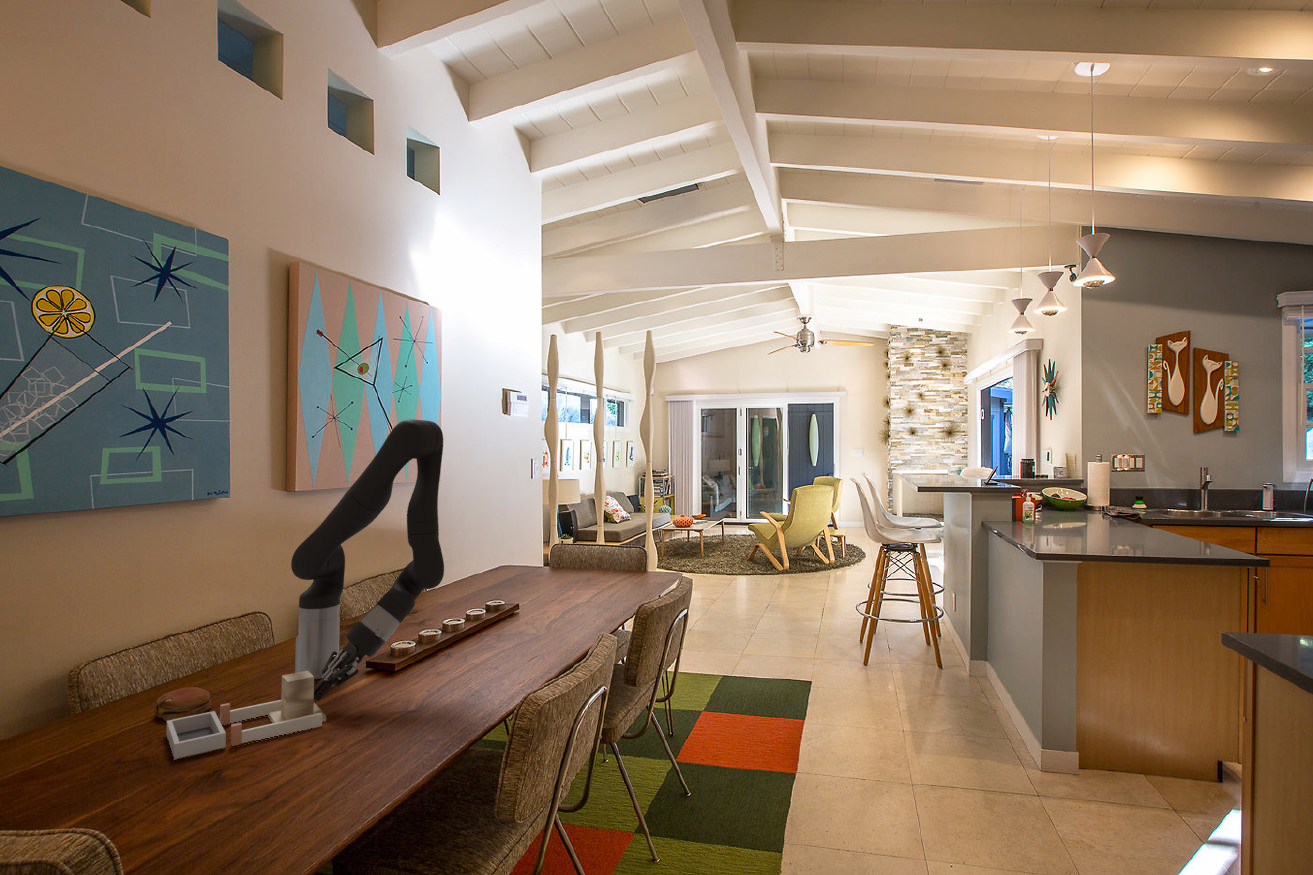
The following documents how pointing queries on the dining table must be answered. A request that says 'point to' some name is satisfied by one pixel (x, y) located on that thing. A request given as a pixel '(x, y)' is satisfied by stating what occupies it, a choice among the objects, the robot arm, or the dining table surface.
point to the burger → (183, 703)
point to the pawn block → (296, 698)
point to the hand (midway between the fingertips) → (313, 697)
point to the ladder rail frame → (266, 730)
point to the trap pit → (195, 734)
